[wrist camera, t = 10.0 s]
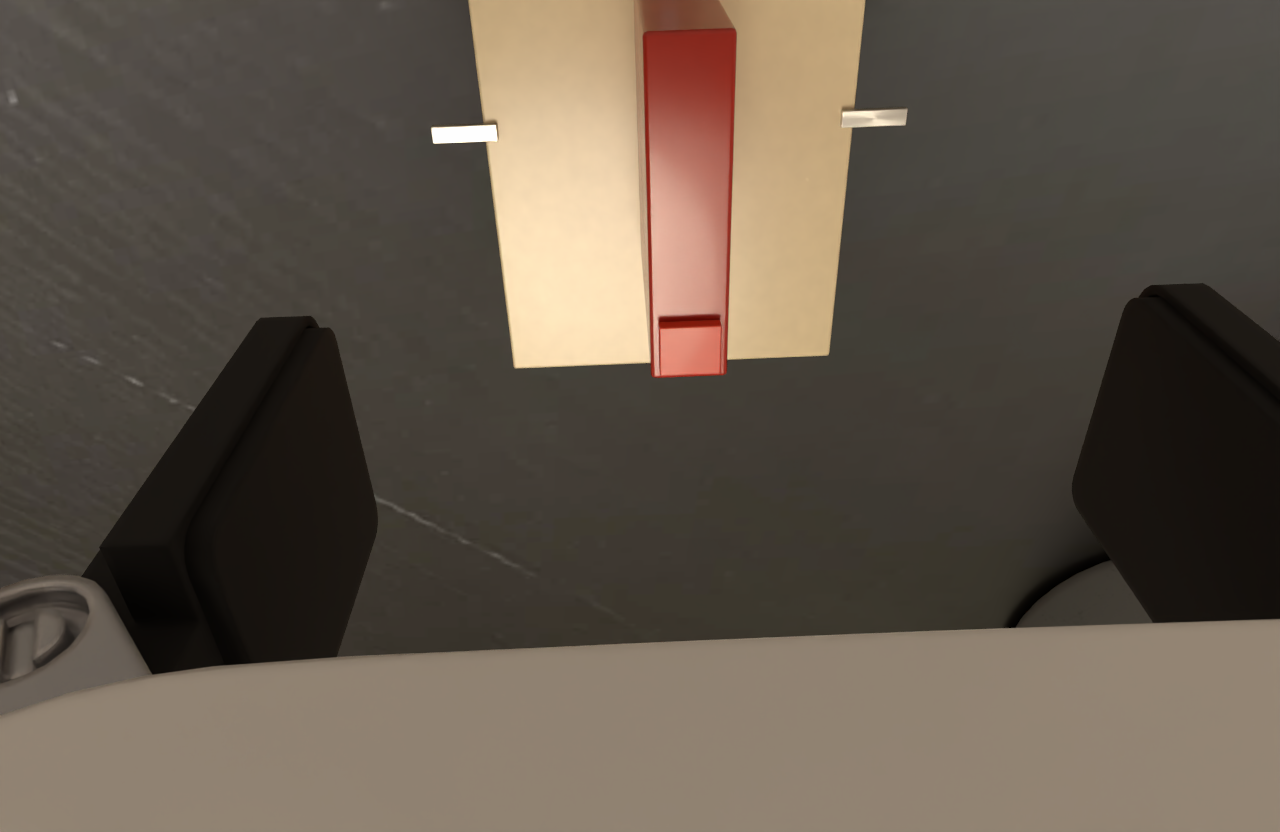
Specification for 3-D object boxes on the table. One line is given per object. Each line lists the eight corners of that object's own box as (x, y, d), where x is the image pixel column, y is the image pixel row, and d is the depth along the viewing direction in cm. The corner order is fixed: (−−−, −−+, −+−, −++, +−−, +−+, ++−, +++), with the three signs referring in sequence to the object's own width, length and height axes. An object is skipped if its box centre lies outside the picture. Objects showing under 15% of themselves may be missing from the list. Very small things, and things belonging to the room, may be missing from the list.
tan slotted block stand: (417, -205, 19) (378, -205, 16) (891, -221, 20) (953, -224, 16) (487, 299, 26) (469, 374, 23) (838, 284, 26) (874, 357, 23)
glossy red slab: (632, -28, 18) (643, 35, 13) (703, -30, 18) (740, 32, 13) (641, 255, 21) (651, 386, 16) (701, 252, 21) (729, 383, 16)
